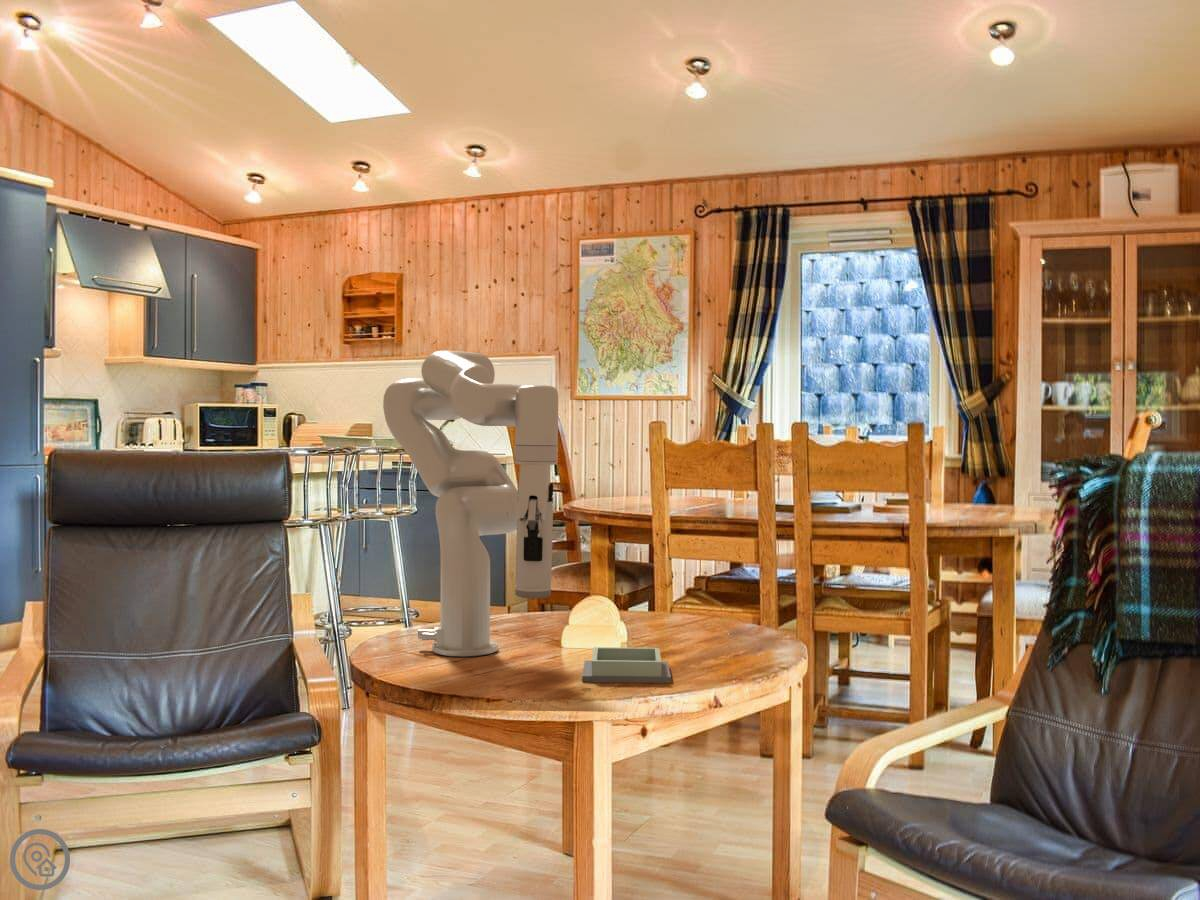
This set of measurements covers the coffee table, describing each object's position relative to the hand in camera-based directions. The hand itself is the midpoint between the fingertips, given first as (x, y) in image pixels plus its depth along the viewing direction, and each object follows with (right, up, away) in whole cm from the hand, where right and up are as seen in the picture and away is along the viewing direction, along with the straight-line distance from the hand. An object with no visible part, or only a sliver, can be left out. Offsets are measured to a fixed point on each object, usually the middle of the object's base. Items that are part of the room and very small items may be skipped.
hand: (534, 557), depth 187 cm
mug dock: (+16, -20, 0) cm, 26 cm away
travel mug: (0, -7, 0) cm, 7 cm away
